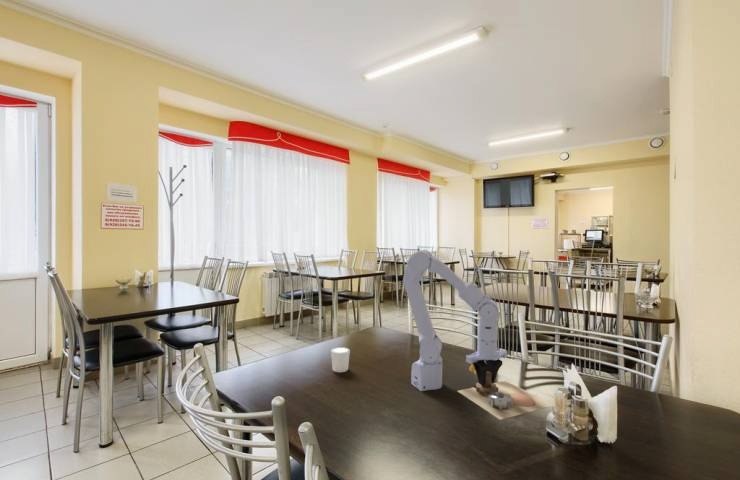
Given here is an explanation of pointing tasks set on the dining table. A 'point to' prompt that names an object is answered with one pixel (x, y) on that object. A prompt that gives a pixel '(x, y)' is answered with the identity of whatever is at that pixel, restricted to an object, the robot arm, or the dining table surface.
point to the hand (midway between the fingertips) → (486, 383)
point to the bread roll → (473, 369)
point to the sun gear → (500, 400)
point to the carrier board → (508, 389)
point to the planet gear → (486, 385)
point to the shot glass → (340, 359)
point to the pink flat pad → (522, 400)
